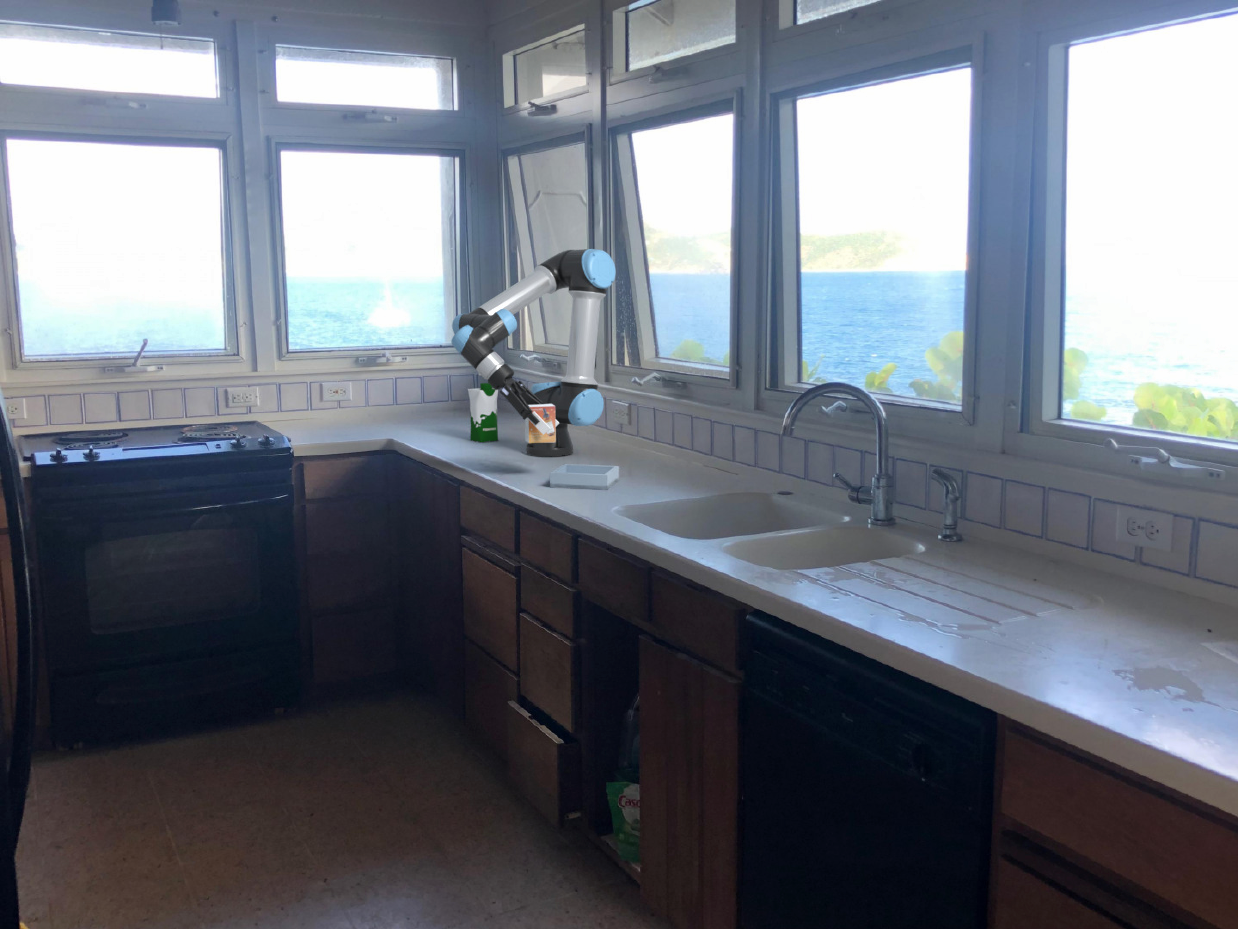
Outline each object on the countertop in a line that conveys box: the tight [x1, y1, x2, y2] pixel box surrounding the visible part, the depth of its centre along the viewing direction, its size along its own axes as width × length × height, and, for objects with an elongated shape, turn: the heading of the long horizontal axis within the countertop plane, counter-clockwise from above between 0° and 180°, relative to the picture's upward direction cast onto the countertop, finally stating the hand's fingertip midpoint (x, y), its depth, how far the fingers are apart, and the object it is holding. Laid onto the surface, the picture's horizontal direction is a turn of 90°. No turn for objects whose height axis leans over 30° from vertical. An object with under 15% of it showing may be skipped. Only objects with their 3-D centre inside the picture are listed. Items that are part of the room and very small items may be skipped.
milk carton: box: [467, 382, 499, 443], centre depth 373 cm, size 9×9×20 cm
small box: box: [524, 404, 556, 443], centre depth 306 cm, size 8×6×10 cm
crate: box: [549, 463, 620, 491], centre depth 298 cm, size 14×16×4 cm
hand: (551, 428), depth 306 cm, fingers closed on small box, 8 cm apart
